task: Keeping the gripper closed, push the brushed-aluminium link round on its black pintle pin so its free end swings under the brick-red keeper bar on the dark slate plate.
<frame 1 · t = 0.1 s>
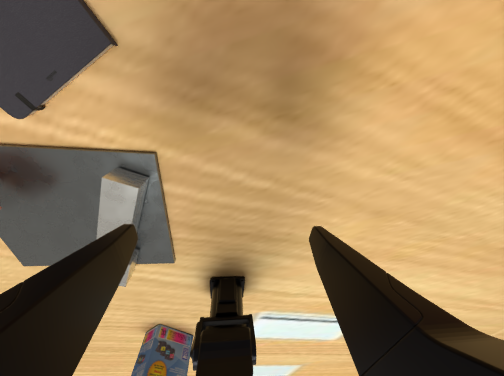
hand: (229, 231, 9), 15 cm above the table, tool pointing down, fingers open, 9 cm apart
pintle plate: (121, 252, 28), on the table
link: (118, 233, 24), point 2 cm above the table, hinge at -20.0°
ink cartridge box: (171, 332, 43), on the table
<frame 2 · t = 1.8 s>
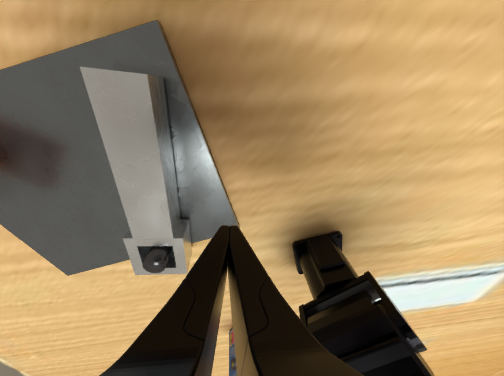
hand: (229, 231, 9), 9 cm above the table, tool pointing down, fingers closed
pintle plate: (169, 232, 21), on the table
link: (151, 194, 16), point 2 cm above the table, hinge at -20.0°
ink cartridge box: (257, 327, 35), on the table
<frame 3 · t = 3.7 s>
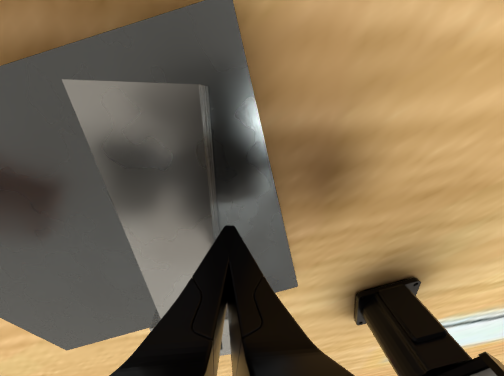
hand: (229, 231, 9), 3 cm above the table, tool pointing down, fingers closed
pintle plate: (204, 291, 15), on the table
link: (189, 262, 10), point 2 cm above the table, hinge at -16.6°, touching gripper
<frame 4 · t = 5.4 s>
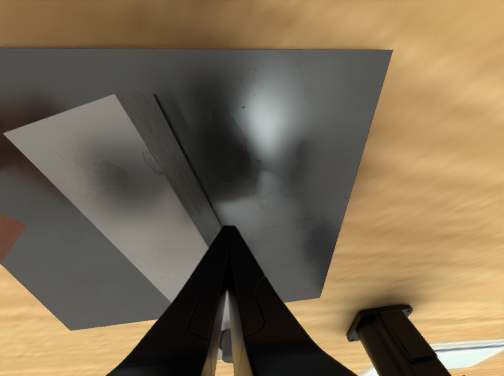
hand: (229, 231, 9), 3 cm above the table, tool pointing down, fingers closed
pintle plate: (235, 289, 16), on the table
link: (200, 266, 11), point 2 cm above the table, hinge at 15.8°, touching gripper
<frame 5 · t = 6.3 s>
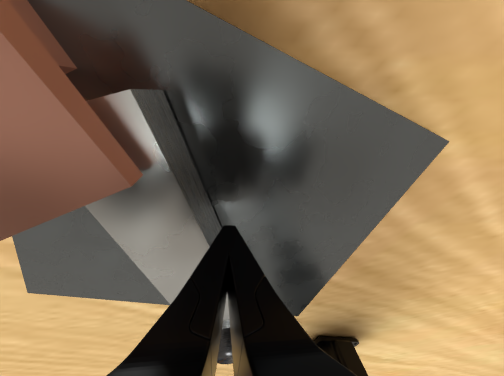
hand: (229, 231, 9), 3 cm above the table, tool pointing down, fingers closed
keeper: (25, 104, 6), resting on pintle plate
pintle plate: (229, 289, 16), on the table
link: (198, 265, 11), point 2 cm above the table, hinge at 34.3°, touching gripper
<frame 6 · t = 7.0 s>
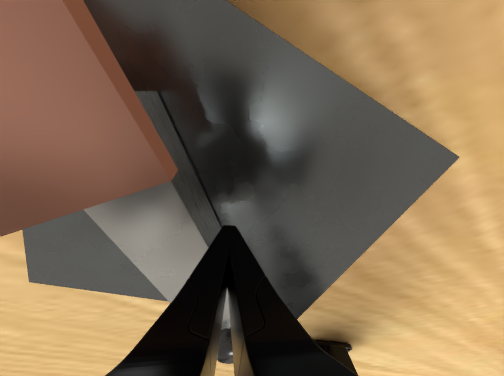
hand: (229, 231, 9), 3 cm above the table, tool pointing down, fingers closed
keeper: (63, 91, 6), resting on pintle plate
pintle plate: (232, 289, 16), on the table
link: (199, 265, 11), point 2 cm above the table, hinge at 40.1°, touching gripper
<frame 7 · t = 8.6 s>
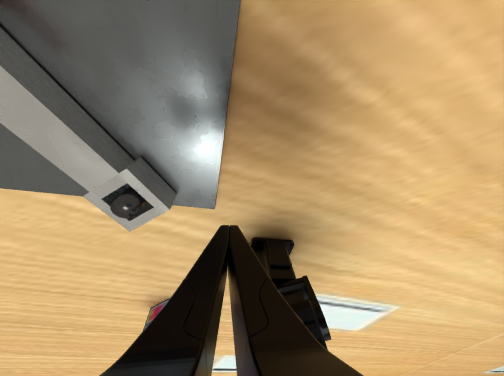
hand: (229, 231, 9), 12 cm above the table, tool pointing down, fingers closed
pintle plate: (144, 184, 20), on the table
link: (72, 139, 15), point 2 cm above the table, hinge at 40.2°
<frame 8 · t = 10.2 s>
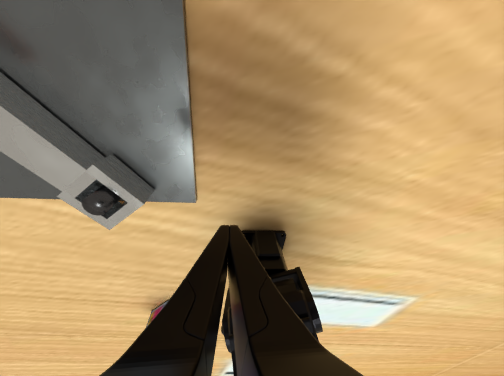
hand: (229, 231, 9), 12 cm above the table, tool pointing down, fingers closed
pintle plate: (122, 183, 20), on the table
link: (40, 141, 15), point 2 cm above the table, hinge at 40.2°
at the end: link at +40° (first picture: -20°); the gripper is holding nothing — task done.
